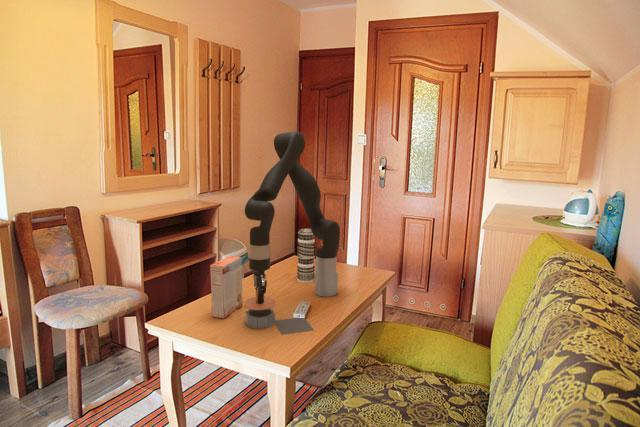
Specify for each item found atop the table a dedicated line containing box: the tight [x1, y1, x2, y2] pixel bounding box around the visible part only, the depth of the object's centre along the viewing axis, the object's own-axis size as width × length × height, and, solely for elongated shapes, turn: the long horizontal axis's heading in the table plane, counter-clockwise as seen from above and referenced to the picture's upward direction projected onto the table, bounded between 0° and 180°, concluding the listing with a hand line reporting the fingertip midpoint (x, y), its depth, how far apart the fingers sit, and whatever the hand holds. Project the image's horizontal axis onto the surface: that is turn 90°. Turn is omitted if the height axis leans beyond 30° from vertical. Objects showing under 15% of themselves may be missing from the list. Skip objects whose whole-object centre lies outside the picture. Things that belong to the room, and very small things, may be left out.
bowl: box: [245, 308, 276, 330], centre depth 160 cm, size 10×10×4 cm
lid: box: [243, 290, 276, 310], centre depth 158 cm, size 11×11×5 cm
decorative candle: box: [296, 227, 317, 284], centre depth 208 cm, size 9×9×25 cm
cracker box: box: [209, 255, 244, 319], centre depth 169 cm, size 14×6×21 cm, turn 160°
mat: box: [274, 317, 315, 336], centre depth 158 cm, size 12×12×1 cm
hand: (259, 301), depth 158 cm, fingers closed on lid, 2 cm apart
